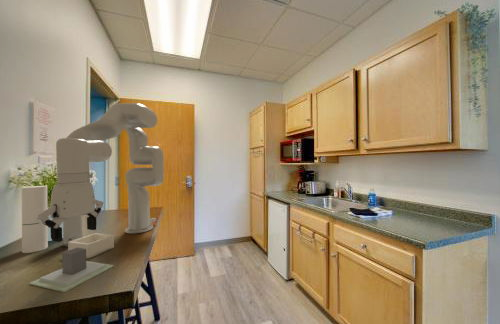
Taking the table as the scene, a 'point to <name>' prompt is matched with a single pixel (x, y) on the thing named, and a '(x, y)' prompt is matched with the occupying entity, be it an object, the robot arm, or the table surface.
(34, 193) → the cylindrical container
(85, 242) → the open square tray
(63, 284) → the lid
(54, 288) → the mat
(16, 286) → the table surface
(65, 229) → the travel mug
